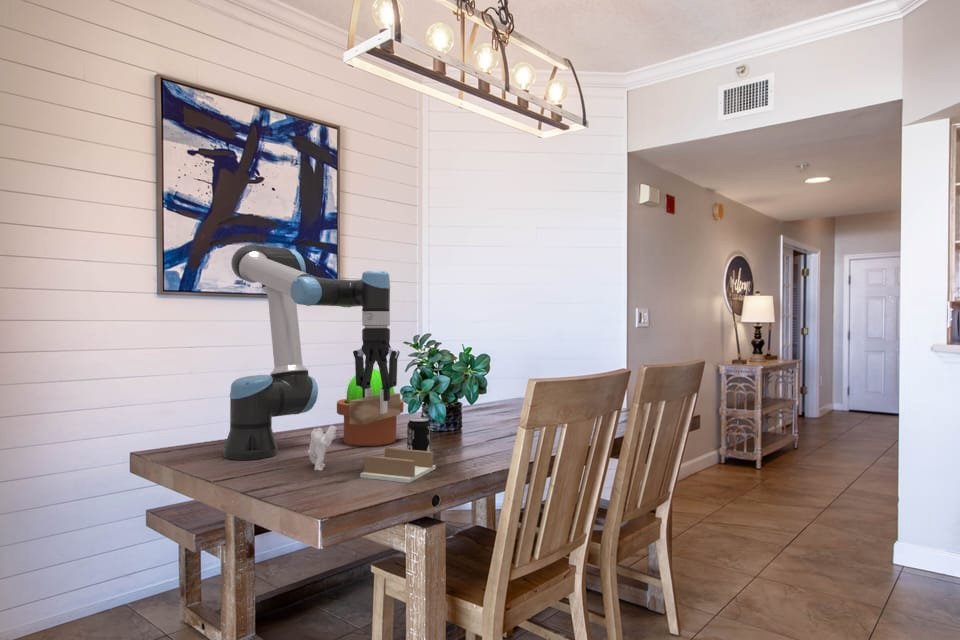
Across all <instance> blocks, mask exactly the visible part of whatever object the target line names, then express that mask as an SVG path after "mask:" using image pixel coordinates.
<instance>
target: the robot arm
mask: <svg viewBox="0 0 960 640" xmlns="http://www.w3.org/2000/svg"><path fill="white" fill-rule="evenodd" d="M230 264H231V269H232V271H233V273H234V275H236V277H238V279H241V280H243V281H245V282H247V283H250V284H252V283H253V284H254V283H255V284H256V283H257V284H261V291H262V292H264V293H265V294H266V295H267V301H268V311H269V312H268V313H269V325H270V333H271V334H270V335H271V343H272V353H273V354H272V356H273V365H274V367H273V370H272V371H271V372H270V374H257V375H255V374H254V375H248V376H243V377H239V378H236V379H235V380H233V382H231V385H230V392H229V393H230V394H229V398H230V400H229V403H230V405H229V407H230V411H229V432H228V435H227V438H226V441H225V446H224V447H223V455H222V456H223V458H224V459H227V460H236V461H250V460H252V461H253V460H260V459H267V458H270V457H274V456H276V455H277V454H278V444H277V442H276V438H275V435H274V432H273V429H272V424H273V423H272V422H273V421H272V420H273V417H275V418H276V417H283V416H284V417H285V416H292V415H294V416H295V415H300V414H303V413H307V412H310V410H312V409H313V407H314V406H315V404H316V402H317V401H318V400H317V399H318V396H319V395H318V394H319V387H318V383H317V381H316V380H315V378H314V377H313V376H310V375H309V369H308V368H307V367H305V366H304V364H303V357H302V356H303V355H302V346H301V345H302V344H301V337H300V327H299V315H298V308H297V304H298V305H300V306H301V305H302V306H307V307H312V306H321V307H322V306H323V307H324V306H325V307H327V306H328V307H340V308H353V307H356V308H357V307H362V309H361V315H362V316H361V317H362V318H361V319H362V320H361V323H362V325H361V326H363V327H364V328H362V330H361V334H362V337H361V339H362V345H361V348H359V349H356V350H353V351H352V353H353V357H354V365H355V367H354V368H355V369H354V370H355V375H356V385H357V386H360V387H362V393H363V398H366V397H371V396H372V388H370V387H371V386H370V383H371V377H372V372H373V369H374V367H375V363H376V364H377V365H378V369H379V370H378V371H380V376H381V381H382V387H383V388H381V389H380V414H383V413H387V401H389V400H390V388H392V387H393V388H394V387H396V386H397V385H398V383H397V382H398V358H399V356H400V353H401V352H400V351H399V350H396V349H393V348H391V347H392V346H391V344H390V341H391V340H390V339H391V329H390V328H388V327H389V326H390V325H391V316H390V315H391V311H390V309H391V301H390V300H391V299H390V298H391V284H390V283H391V281H390V274H389V272H387V271H384V270H366V271H365V270H364V272H362V274H361V279H353V280H352V279H339V278H338V279H337V278H327V277H326V278H325V277H317V276H314V275H311V274H310V273H307V272H306V271H307V270H306V263H305V260H304V257H303V256H302V255H301V253H300V252H298V250H296V249H292V248H287V247H284V246H282V247H278V246H271V245H270V246H269V245H262V244H261V245H260V244H247V245H243V246H241V247H240V248H238V249H237V250H235V252H234V254H233V255H232V257H231V263H230ZM387 356H389V361H388V359H387V358H388V357H387ZM364 357H365V359H364ZM364 364H365V365H364ZM364 368H365V370H364Z"/></svg>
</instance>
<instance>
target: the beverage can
mask: <svg viewBox="0 0 960 640" xmlns="http://www.w3.org/2000/svg"><path fill="white" fill-rule="evenodd" d="M429 420H430V419H429V418H427V417H411V418H409V419H408V423H407V428H406V429H407V432H406V436H407V437H406V439H407V441H406V442H407V444H406V449H409V450H419V451H430V452H431V423H430V421H429Z"/></svg>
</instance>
